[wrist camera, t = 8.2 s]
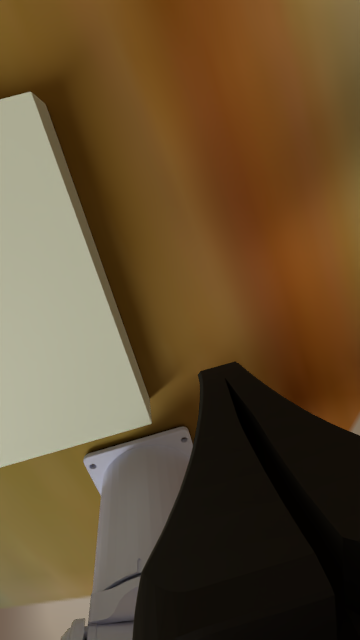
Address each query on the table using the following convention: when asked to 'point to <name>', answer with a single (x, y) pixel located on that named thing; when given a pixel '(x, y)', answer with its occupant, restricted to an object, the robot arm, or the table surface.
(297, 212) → the table surface
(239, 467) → the robot arm
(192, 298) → the table surface
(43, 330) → the deck
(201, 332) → the table surface
